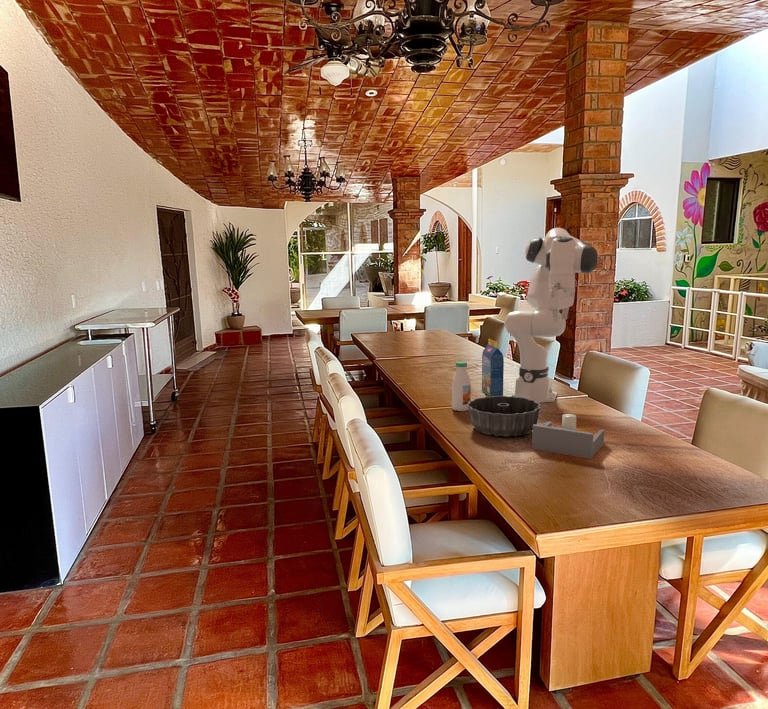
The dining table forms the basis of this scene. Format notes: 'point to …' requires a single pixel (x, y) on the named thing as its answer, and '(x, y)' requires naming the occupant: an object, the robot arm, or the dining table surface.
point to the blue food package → (492, 370)
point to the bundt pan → (503, 415)
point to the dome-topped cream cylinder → (569, 421)
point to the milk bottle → (461, 388)
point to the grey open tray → (566, 441)
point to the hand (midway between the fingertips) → (560, 320)
